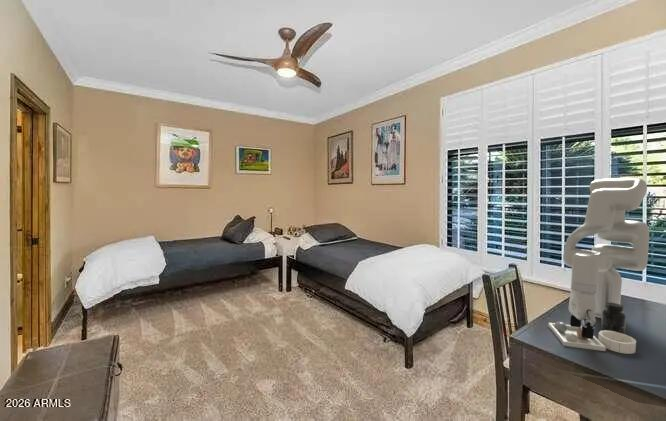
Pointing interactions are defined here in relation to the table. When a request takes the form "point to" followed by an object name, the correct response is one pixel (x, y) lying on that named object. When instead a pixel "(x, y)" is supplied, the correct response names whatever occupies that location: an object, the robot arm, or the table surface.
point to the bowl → (617, 341)
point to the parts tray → (580, 343)
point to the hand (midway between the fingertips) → (581, 332)
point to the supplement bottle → (613, 318)
